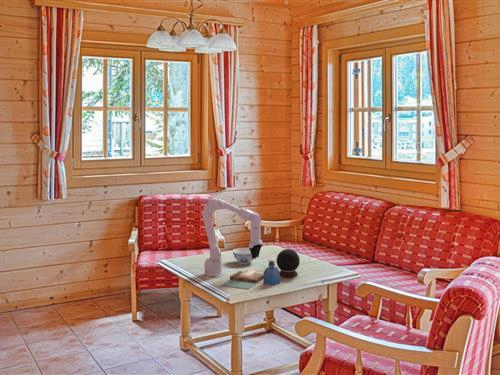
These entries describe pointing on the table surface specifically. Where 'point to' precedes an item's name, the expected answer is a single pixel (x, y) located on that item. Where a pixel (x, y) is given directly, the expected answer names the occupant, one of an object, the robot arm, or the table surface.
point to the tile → (247, 274)
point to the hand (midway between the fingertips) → (255, 257)
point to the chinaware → (243, 255)
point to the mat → (238, 284)
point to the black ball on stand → (288, 263)
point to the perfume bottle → (271, 274)
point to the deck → (253, 279)
